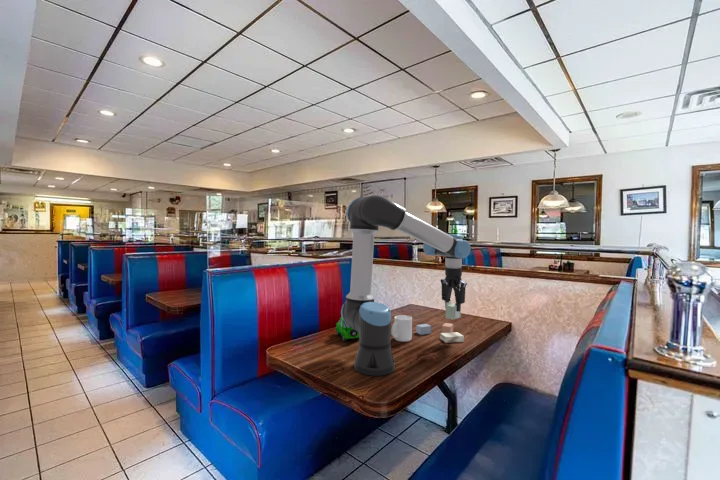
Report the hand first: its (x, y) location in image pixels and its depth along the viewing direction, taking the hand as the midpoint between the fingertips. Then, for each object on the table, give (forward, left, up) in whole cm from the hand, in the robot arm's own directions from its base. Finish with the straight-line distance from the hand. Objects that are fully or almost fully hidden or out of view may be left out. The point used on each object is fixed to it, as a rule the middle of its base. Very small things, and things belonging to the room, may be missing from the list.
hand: (452, 316), depth 161 cm
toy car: (-39, +30, -11) cm, 50 cm away
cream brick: (0, 0, -11) cm, 11 cm away
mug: (-20, +14, -11) cm, 27 cm away
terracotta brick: (+8, +9, -11) cm, 16 cm away
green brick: (0, 0, 0) cm, 1 cm away
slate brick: (-3, +15, -11) cm, 19 cm away
